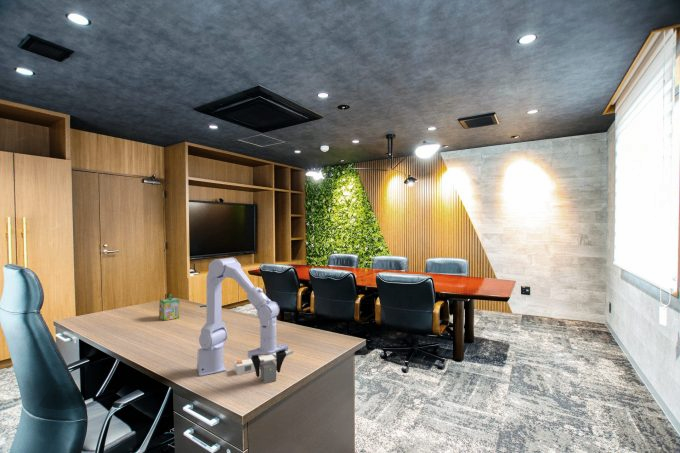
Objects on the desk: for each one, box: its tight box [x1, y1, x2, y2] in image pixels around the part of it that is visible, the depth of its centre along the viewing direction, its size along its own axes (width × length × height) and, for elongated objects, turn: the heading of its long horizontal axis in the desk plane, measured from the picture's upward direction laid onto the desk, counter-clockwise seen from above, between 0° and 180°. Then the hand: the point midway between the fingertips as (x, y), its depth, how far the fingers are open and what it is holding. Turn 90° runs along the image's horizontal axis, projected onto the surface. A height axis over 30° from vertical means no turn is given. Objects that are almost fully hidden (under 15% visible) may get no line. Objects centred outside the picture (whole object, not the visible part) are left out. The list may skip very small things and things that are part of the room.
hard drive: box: [265, 349, 294, 358], centre depth 146 cm, size 2×8×12 cm
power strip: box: [233, 355, 277, 376], centre depth 130 cm, size 19×5×4 cm, turn 120°
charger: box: [259, 361, 277, 384], centre depth 120 cm, size 4×7×6 cm, turn 30°
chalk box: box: [158, 293, 180, 321], centre depth 201 cm, size 9×9×15 cm
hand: (268, 373), depth 120 cm, fingers open, 7 cm apart
